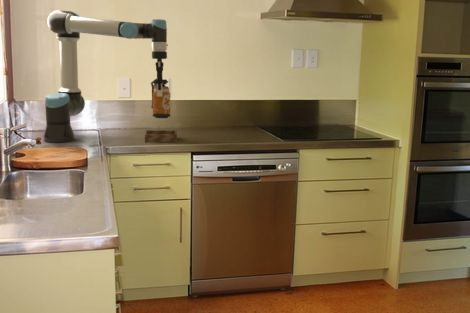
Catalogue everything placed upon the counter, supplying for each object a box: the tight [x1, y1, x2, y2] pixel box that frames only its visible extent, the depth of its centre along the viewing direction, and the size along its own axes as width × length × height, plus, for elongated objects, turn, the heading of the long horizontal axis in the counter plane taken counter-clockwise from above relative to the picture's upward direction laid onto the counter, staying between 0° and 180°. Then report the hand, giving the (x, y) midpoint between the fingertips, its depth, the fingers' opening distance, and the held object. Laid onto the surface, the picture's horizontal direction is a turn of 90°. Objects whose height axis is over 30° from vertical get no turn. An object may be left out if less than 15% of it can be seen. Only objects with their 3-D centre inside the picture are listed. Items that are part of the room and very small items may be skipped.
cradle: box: [144, 129, 178, 144], centre depth 284 cm, size 16×14×4 cm
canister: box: [150, 78, 171, 119], centre depth 281 cm, size 9×11×20 cm
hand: (159, 95), depth 280 cm, fingers closed on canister, 9 cm apart
